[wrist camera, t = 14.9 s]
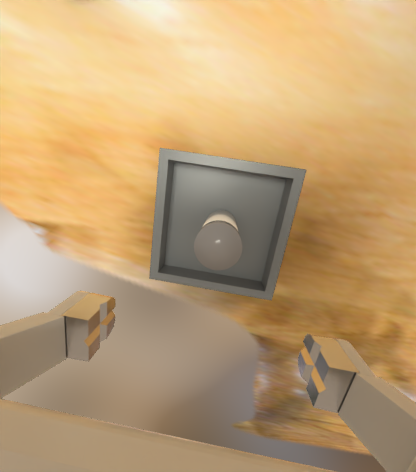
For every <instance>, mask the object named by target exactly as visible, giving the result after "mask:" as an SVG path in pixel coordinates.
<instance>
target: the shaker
mask: <svg viewBox="0 0 416 472" xmlns="http://www.w3.org/2000/svg"><path fill="white" fill-rule="evenodd" d="M194 252H195V255H196V257H197V259H198V261H199V262H200V263H201V264H202V265H204V266H205V267H207V268H209V269H212V270H225V269H228V268H230V267H232V266H233V265H235V264H236V263H237V261H238V260H239V258H240V256H241V254H242V241H241V238H240V234H239V232H238V228H237V224H236V221H235V218H234V216H233V215H232V214H231V213H230V212H228V211H225V210H216V211H214V212H212V213H211V214H210V215H209V216H208V217H207V219H206V221H205V223H204V225H203V227H202V228H201V230H200V231H199V233H198V235H197V237H196V239H195V242H194Z"/></svg>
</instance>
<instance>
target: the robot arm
mask: <svg viewBox="0 0 416 472" xmlns="http://www.w3.org/2000/svg"><path fill="white" fill-rule="evenodd" d="M114 307H115V299H114V298H113V297H109V296H104V295H99V294H95V293H89V292H84V291H77V292H76V293H74V294H73V295H72V296H70V297H69V298H67V299H66V300H65V301H63V302H62V303H60V304H59V305H57V306H56V307H55V308H53V309H52V310H50V311H49V312H48V313H44V312H42V313H40V314H36V315H33V316H30V317H26V318H23V319H20V320H16V321H14V322H10V323H7V324H3V325H0V472H336V471H331V470H327V469H322V468H317V467H313V466H308V465H304V464H299V463H294V462H290V461H285V460H280V459H275V458H271V457H266V456H262V455H257V454H252V453H248V452H243V451H239V450H233V449H229V448H225V447H220V446H216V445H211V444H206V443H202V442H197V441H193V440H188V439H184V438H179V437H174V436H170V435H165V434H160V433H156V432H152V431H147V430H142V429H138V428H133V427H128V426H124V425H119V424H115V423H110V422H106V421H101V420H96V419H92V418H87V417H83V416H78V415H74V414H69V413H64V412H60V411H55V410H50V409H46V408H41V407H37V406H32V405H28V404H23V403H18V402H13V401H9V400H4V399H2V398H3V397H4V396H6V395H8V394H9V393H11V392H13V391H14V390H16V389H17V388H19V387H21V386H22V385H24V384H26V383H27V382H29V381H31V380H32V379H34V378H36V377H37V376H39V375H41V374H42V373H44V372H46V371H47V370H49V369H51V368H52V367H54V366H56V365H57V364H59V363H61V362H62V361H64V360H66V358H71V359H77V360H83V361H89V360H90V359H91V358H92V356H93V355H94V354H95V353H96V351H97V350H98V349H99V347H100V342H101V341H103V340H105V339H106V338H107V337H108V336H109V334H110V333H111V331H112V329H113V327H114V323H115V314H114V313H113V311H112V310H113V309H114ZM303 342H304V345H305V348H303V349H302V350H301V351H300V353H299V357H298V366H299V371H300V374H301V377H302V378H303V379H304V380H305V381H306V382H307V383H308V385H307V388H306V390H307V392H308V395H309V397H310V400H311V402H312V405H313V407H314V408H318V409H323V410H327V411H331V412H335V413H339V414H338V415H339V416H340V417H341V418H342V420H343V421H344V422H345V423H346V424H347V426H348V427H349V428H350V429H351V430H352V431H353V433H354V434H355V435H356V436H357V437H358V438H359V440H360V441H361V442H362V443H363V444H364V445H365V447H366V448H367V449H368V450H369V451H370V453H371V454H372V455H373V456H374V457H375V458H376V460H377V461H378V462H379V463H380V464H381V465H382V467H383V468H384V469H385V470H386V471H387V472H416V403H415V402H414V401H413V400H411V399H410V398H408V397H407V396H406V395H404V394H403V393H401V392H400V391H399V390H397V389H396V388H394V387H393V386H392V385H390V384H389V383H387V382H386V381H385V380H383V379H382V378H380V377H376V376H375V374H374V373H373V372H372V371H371V369H370V368H369V367H368V365H367V364H366V363H365V362H364V360H363V359H362V358H361V357H360V355H359V354H358V353H357V351H356V350H355V349H354V348H353V346H352V345H351V344H350V343H349V342H348V341H346V340H342V339H336V338H327V337H322V336H316V335H311V334H307V335H306V336H305V338H304V341H303Z"/></svg>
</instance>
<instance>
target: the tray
mask: <svg viewBox="0 0 416 472" xmlns="http://www.w3.org/2000/svg"><path fill="white" fill-rule="evenodd" d="M305 173H306V170H305V169H298V168H291V167H285V166H278V165H271V164H265V163H258V162H251V161H245V160H238V159H231V158H224V157H218V156H211V155H204V154H198V153H191V152H184V151H178V150H171V149H164V148H160V152H159V165H158V177H157V190H156V202H155V215H154V227H153V240H152V253H151V265H150V278H149V279H155V280H161V281H166V282H172V283H177V284H183V285H188V286H194V287H199V288H205V289H210V290H216V291H222V292H227V293H233V294H238V295H244V296H249V297H255V298H260V299H266V300H272V297H273V293H274V290H275V286H276V282H277V278H278V275H279V271H280V267H281V263H282V260H283V256H284V252H285V248H286V245H287V241H288V237H289V233H290V229H291V226H292V222H293V218H294V214H295V211H296V207H297V203H298V199H299V196H300V192H301V188H302V184H303V181H304V177H305ZM216 210H225V211H228V212H230V213H231V214H232V215H233V216H234V218H235V221H236V224H237V228H238V232H239V234H240V238H241V241H242V254H241V256H240V258H239V260H238V261H237V263H236V264H235V265H233V266H232V267H230V268H228V269H225V270H212V269H209V268H207V267H205V266H204V265H202V264H201V263H200V262H199V261H198V259H197V257H196V255H195V252H194V242H195V239H196V237H197V235H198V233H199V231H200V230H201V228H202V227H203V225H204V223H205V221H206V219H207V217H208V216H209V215H210V214H211V213H212V212H214V211H216Z"/></svg>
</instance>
